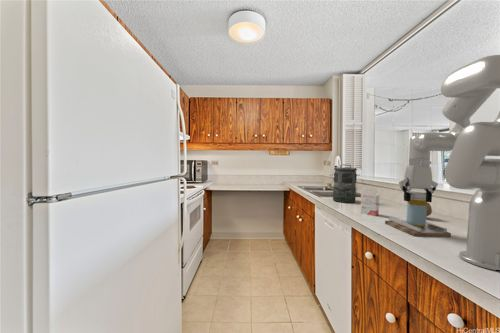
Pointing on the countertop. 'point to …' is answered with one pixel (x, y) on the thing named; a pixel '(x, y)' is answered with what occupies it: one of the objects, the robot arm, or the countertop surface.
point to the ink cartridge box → (369, 202)
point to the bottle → (417, 209)
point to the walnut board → (415, 233)
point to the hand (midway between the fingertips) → (417, 201)
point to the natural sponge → (428, 209)
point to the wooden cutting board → (427, 229)
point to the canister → (344, 184)
